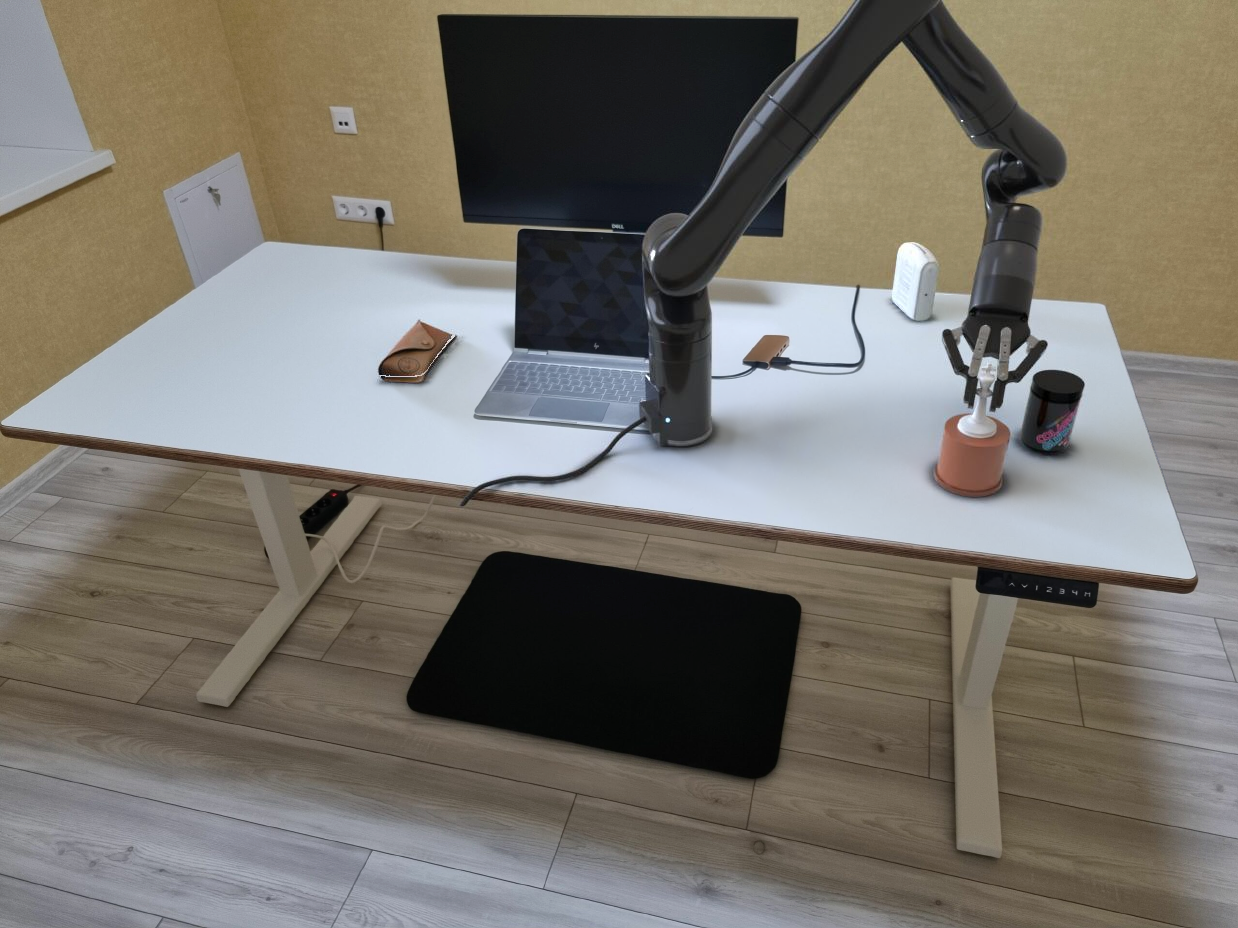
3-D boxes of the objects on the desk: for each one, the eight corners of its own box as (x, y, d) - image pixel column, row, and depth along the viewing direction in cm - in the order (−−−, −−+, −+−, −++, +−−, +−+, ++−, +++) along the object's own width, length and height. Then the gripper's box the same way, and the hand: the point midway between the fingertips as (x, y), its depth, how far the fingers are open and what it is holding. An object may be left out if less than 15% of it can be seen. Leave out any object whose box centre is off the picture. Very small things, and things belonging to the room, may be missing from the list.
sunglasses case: (425, 381, 158) (400, 350, 156) (396, 397, 162) (371, 368, 159) (459, 334, 173) (437, 305, 170) (432, 350, 176) (410, 322, 173)
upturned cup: (959, 503, 124) (969, 454, 120) (920, 468, 131) (928, 420, 127) (1016, 488, 126) (1027, 439, 122) (974, 454, 133) (984, 406, 129)
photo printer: (934, 319, 169) (944, 255, 162) (912, 323, 168) (921, 258, 161) (909, 297, 177) (917, 235, 170) (888, 300, 177) (895, 238, 170)
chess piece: (998, 439, 122) (1012, 373, 116) (959, 437, 123) (971, 371, 117) (993, 419, 126) (1007, 354, 120) (955, 417, 127) (967, 353, 121)
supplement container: (1021, 455, 133) (1036, 392, 127) (1014, 429, 138) (1028, 368, 132) (1072, 458, 131) (1089, 394, 125) (1063, 432, 137) (1079, 370, 131)
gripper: (949, 267, 121) (926, 394, 119) (1064, 278, 117) (1043, 409, 114) (947, 288, 128) (925, 408, 126) (1056, 299, 124) (1035, 423, 121)
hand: (981, 408), depth 120 cm, fingers closed on chess piece
